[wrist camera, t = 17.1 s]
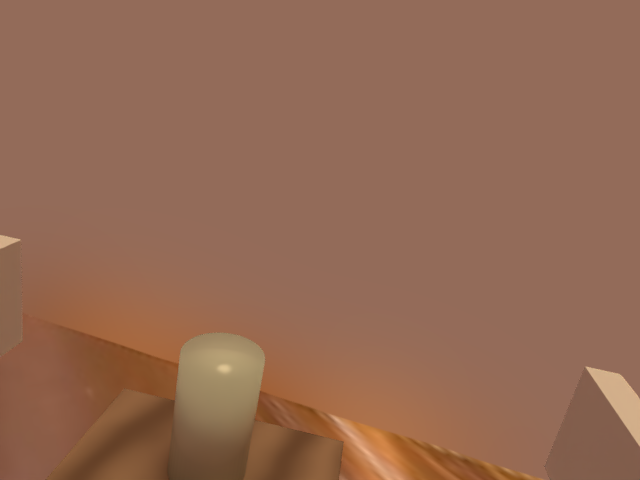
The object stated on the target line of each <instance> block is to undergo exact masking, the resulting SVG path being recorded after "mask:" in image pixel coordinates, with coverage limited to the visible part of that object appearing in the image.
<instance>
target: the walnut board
mask: <svg viewBox="0 0 640 480" xmlns="http://www.w3.org/2000/svg"><path fill="white" fill-rule="evenodd" d="M174 405H175V401H174V400H170V399H166V398H162V397H158V396H153V395H149V394H145V393H141V392H137V391H133V390H129V389H125V388H124V389H123V391H122V392H121V393H120V394H119V395H118V396H117V398H116V399H115V400H114V401H113V402H112V403H111V404H110V406H109V407H108V408H107V409H106V410H105V411H104V413H103V414H102V415H101V416H100V417H99V418H98V420H97V421H96V422H95V423H94V424H93V425H92V427H91V428H90V429H89V430H88V431H87V432H86V433H85V435H84V436H83V437H82V438H81V439H80V440H79V442H78V443H77V444H76V445H75V446H74V447H73V449H72V450H71V451H70V452H69V453H68V454H67V456H66V457H65V458H64V459H63V460H62V461H61V462H60V464H59V465H58V466H57V467H56V468H55V469H54V471H53V472H52V473H51V474H50V475H49V476H48V478H47V479H46V480H169V477H168V471H167V468H168V459H169V450H170V441H171V432H172V423H173V414H174ZM342 450H343V441H339V440H335V439H331V438H327V437H322V436H318V435H314V434H310V433H306V432H302V431H298V430H294V429H289V428H285V427H281V426H277V425H273V424H269V423H265V422H261V421H256V420H255V421H254V427H253V432H252V438H251V444H250V450H249V455H248V461H247V467H246V473H245V476H244V479H243V480H339V473H340V466H341V458H342Z"/></svg>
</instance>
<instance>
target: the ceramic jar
mask: <svg viewBox="0 0 640 480" xmlns="http://www.w3.org/2000/svg"><path fill="white" fill-rule="evenodd" d="M264 364H265V355H264V352H263V351H262V349H261V348H260V347H259V346H258V345H257V344H255V343H254V342H253V341H251V340H249V339H247V338H245V337H242V336H239V335H235V334H229V333H208V334H202V335H199V336H196V337H194V338H192V339H190V340H188V341H187V342H186V343H185V344H184V345H183V347H182V348H181V352H180V360H179V369H178V378H177V387H176V396H175V405H174V414H173V423H172V432H171V441H170V450H169V459H168V468H167V471H168V477H169V480H243V479H244V476H245V473H246V467H247V461H248V455H249V450H250V444H251V438H252V432H253V427H254V421H255V415H256V410H257V404H258V398H259V392H260V387H261V381H262V375H263V369H264Z"/></svg>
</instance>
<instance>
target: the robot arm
mask: <svg viewBox="0 0 640 480" xmlns="http://www.w3.org/2000/svg"><path fill="white" fill-rule="evenodd" d="M21 268H22V267H21V240H19V239H15V238H11V237H6V236H2V235H0V357H1V356H2V355H4V354H5V353H7V352H8V351H10V350H11V349H12V348H14V347H15V346H17V345H18V344H19V343H21V342H22V271H21V270H22V269H21ZM545 469H546V471H547V474H548V476H549V478H550V480H640V398H639V397H638V396H637V394H636V393H635V392H634V391H633V389H632V388H631V387H630V385H629V384H628V383H627V382H626V380H625V379H624V378H623V377H622V375H621V374H617V373H611V372H608V371H603V370H599V369H594V368H590V367H585V368H584V370H583V373H582V375H581V378H580V380H579V382H578V385H577V388H576V390H575V392H574V395H573V398H572V400H571V402H570V405H569V407H568V409H567V412H566V415H565V417H564V419H563V422H562V424H561V427H560V429H559V432H558V434H557V437H556V439H555V441H554V444H553V446H552V449H551V451H550V454H549V456H548V459H547V461H546V464H545Z"/></svg>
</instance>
